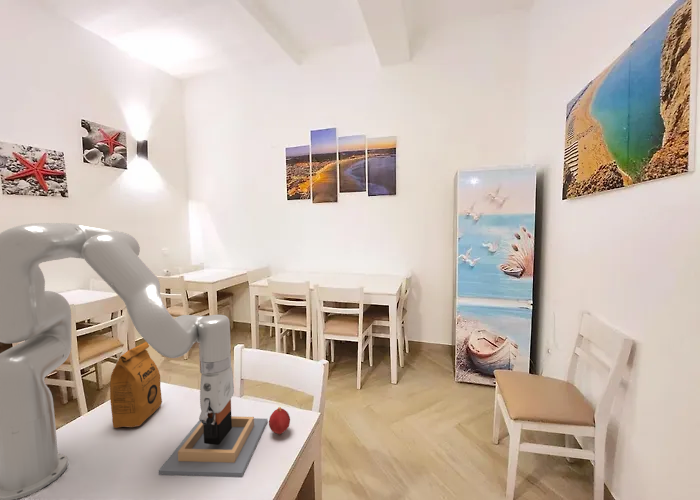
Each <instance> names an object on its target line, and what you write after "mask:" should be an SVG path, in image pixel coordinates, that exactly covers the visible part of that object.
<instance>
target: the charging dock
mask: <svg viewBox="0 0 700 500" xmlns="http://www.w3.org/2000/svg"><path fill="white" fill-rule="evenodd" d="M231 419H232V429H231V430H230V431H229V433H228V434H227V435H226V436H225V438H224V439H223V440H222V442H221V443H220V444H219V445H214V444H205V443H204V427H203V423H202V422H201V421H200V420H199V419H198V421H197V422H196V424H195V425H194V426H193V427H192V428H191V429H190V431H189V432H188V433H187V434H186V436H185V437H184V439H183V440H182V441H181V442H180V444H179V445H178V446H177V447H175V448H176V449H175V450H173V452H172V454H171V455H169V457H168V458H167V459H166V461H165V462H164V463H163V464H162V465H161V467H160V468H159V469H158V475H162V476H163V475H166V476H168V475H169V476H197V477H198V476H200V477H201V476H202V477H235V478H237V477H238V478H239V477H240V478H242V477H243V476H244V474H245V472H246V469H247V467H248V465H249V463H250V461H251V458H252V456H253V454H254V453H255V450H256V448H257V446H258V443H259V441H260V439H261V437H262V434H263V432H264V430H265V428H266V426H267V425H268V423H269V420H268V418H258V417H257V418H255V417H254V416H237V415H236V416H235V415H233V416H232V415H231Z"/></svg>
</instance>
